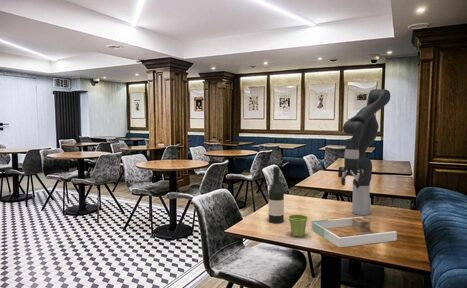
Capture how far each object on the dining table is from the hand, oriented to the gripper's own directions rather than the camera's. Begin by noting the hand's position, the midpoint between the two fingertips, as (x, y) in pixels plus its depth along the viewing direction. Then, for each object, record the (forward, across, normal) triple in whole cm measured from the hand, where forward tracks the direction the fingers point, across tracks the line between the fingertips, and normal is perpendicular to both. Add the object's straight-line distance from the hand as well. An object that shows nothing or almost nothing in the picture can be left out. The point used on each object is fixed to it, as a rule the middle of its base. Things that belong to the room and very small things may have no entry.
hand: (350, 186), depth 176 cm
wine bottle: (+20, +22, +35) cm, 46 cm away
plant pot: (+20, +1, +41) cm, 46 cm away
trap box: (+19, -15, +21) cm, 32 cm away
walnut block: (+19, -14, +11) cm, 25 cm away
